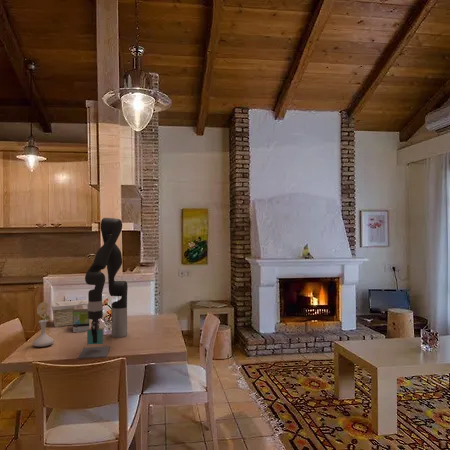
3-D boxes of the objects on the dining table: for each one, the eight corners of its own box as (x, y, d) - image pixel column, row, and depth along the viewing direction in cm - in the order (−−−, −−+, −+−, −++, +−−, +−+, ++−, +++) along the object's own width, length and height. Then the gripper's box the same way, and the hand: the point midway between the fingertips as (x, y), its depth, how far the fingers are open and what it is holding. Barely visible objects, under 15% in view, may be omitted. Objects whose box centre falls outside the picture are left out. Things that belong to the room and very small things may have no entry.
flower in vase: (29, 345, 232) (28, 301, 232) (49, 341, 240) (49, 298, 240) (37, 350, 223) (37, 303, 223) (58, 346, 231) (58, 301, 231)
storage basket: (52, 328, 272) (51, 305, 272) (51, 323, 287) (50, 301, 287) (90, 324, 282) (89, 302, 282) (87, 319, 297) (87, 299, 297)
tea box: (89, 331, 263) (89, 308, 263) (73, 332, 259) (72, 309, 259) (88, 326, 277) (88, 304, 277) (72, 327, 273) (72, 305, 273)
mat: (83, 348, 225) (83, 347, 225) (110, 347, 228) (110, 346, 228) (77, 358, 207) (77, 357, 207) (106, 357, 210) (106, 356, 210)
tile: (88, 343, 220) (87, 328, 220) (103, 342, 221) (103, 327, 221) (87, 344, 217) (87, 329, 218) (103, 344, 219) (102, 328, 219)
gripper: (89, 307, 226) (90, 338, 226) (85, 312, 212) (85, 346, 212) (104, 306, 227) (104, 338, 227) (101, 311, 213) (101, 345, 213)
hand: (95, 341), depth 219 cm, fingers closed on tile, 2 cm apart
